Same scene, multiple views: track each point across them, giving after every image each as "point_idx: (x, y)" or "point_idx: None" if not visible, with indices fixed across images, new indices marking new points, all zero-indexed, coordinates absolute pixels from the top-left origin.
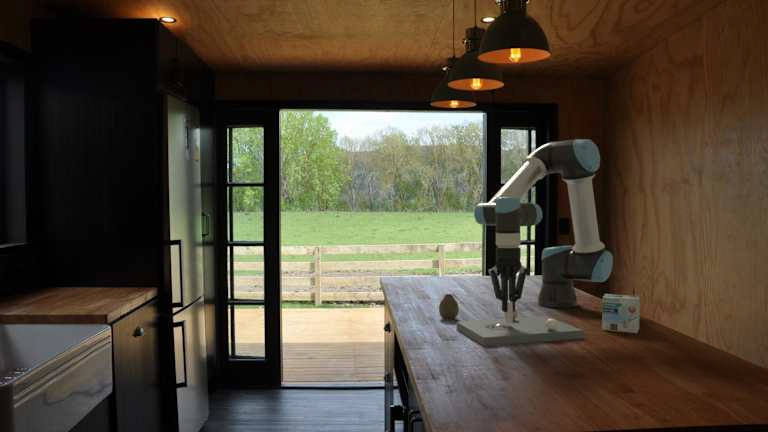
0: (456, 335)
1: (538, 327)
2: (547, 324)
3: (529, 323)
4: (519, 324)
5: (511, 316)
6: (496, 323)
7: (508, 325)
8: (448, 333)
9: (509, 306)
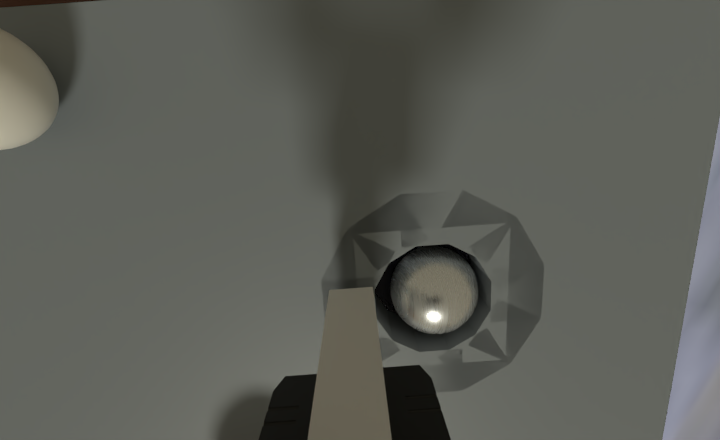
0: (688, 321)
1: (120, 222)
2: (19, 57)
3: (155, 365)
4: (244, 350)
5: (338, 321)
6: None
7: None
8: (708, 375)
9: (366, 399)
